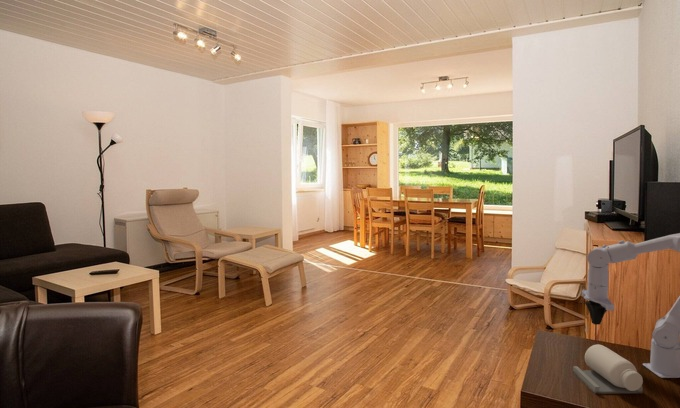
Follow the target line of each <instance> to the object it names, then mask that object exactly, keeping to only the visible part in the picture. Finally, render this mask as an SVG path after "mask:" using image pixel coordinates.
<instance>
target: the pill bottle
mask: <svg viewBox="0 0 680 408" xmlns="http://www.w3.org/2000/svg"><path fill="white" fill-rule="evenodd" d="M584 361H585V364H586V365H587V366H588V367H589V368H590V369H591V370H594V371H595V372H597V373H598V374H600V375H601V376H602V377H604V378H605V379H606V380H608V381H609V382H611V383H612V384H613V385H615V386H617V387H620V388H626V389H628V390H630V391H635V390H638V389H639V388H640V387H641V386H643V383H644V380H643V376H642V375H641V374H640V373H639V372H638V370H637V367H636V366H635V365H634V364H633V363H632V362H631V361H630V360H628V359H626V358H624V357H623V356H621V355H619V353H616V352H615V351H613V350H611V349H610V348H608V347H606V346H604V345H602V344H599V343H597V344H593V345H591V346H590V347H588V348H587V349H586V351H585V354H584Z"/></svg>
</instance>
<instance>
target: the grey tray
mask: <svg viewBox="0 0 680 408" xmlns="http://www.w3.org/2000/svg"><path fill="white" fill-rule="evenodd" d="M572 373H573V374H574V375H575V376H576V377H577V378H578V379H579V380H580V381H581V382H582V383H583V384H584V385H585V386H586V387H588V389H589V390H590V391H591V392H592V393H593V394H594V395H595V394H605V395H606V394H607V395H608V394H643V385H642V386H641V387H640V388H639V389H638V390H635V391H630V390H628V389H626V388H620V387H617V386H615V385H613V384H612V383H611V382H609V381H608V380H606V379H605V378H604V377H602V376H601V375H600V374H598V373H597V372H595V371H594V370H593V369H591V370H590V369H586V370H583V369H581V368H580V367H578V366H577V365H573V367H572Z"/></svg>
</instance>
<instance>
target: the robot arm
mask: <svg viewBox="0 0 680 408" xmlns="http://www.w3.org/2000/svg"><path fill="white" fill-rule="evenodd" d="M668 249H669V250H673V251H675V252H678V253H680V232H679V233H673V234H668V235H665V236H660V237H656V238H652V239H649V240H645V241H642V242H638V243H633V242H631V241H630V240H627V241H625V240H624V239H622V240H619V241H618V243H613V244H609V245H607V244H603V245H602V246H597V247H595V248H593V249H592V250H590V251H589V252H588V253H587V256H586V259H587V262H588V272H587V289H585V290H583V289H582V291H581V296H583V299H584V300H585V301H584V304H585V305H586V308H587V309H588V312H589V316H590V321H591V324H593V325H596V326H597V325H601V323H602V321H603V318H604V315H605V314H606V312H607V311H609V312H610V311H612V312H613V311H615V304H614V303H612V301H611V300H610V299H609V297H608V296H609V295H608V294H609V275H610V271H609V265H610V264H617V263H622V262H625V261H631V260H636V259H637V257H638V255H639V254H644V253H653V252H656V251H662V250H663V251H664V250H668ZM654 325H655V327H654V330H652V335H651V336H652V338H651V341H650V359H649V361H650V362H648V363H646V362H645V363H644V362H643V363H642V366H644V367H645V368H646V369H648V370H649V371H651V372H652V373H653V374H655V375H656V376H658V377H659V378H661V379H669V378H670V379H677V378H678V379H679V378H680V295H679V296H678V297H677V299H676V301H674V303H673V305H672V306H671V308H670V309H669V311H667V313H666V314H665V315H664V316H663V317H661V318H659V319H658V320H657V321H656V322H655V324H654Z"/></svg>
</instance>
